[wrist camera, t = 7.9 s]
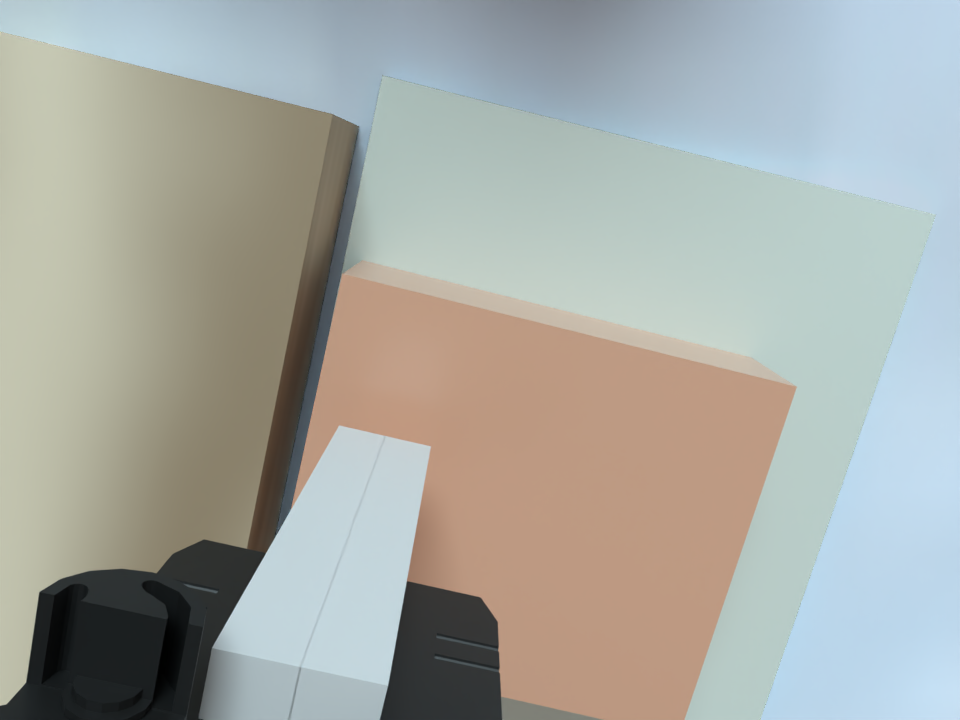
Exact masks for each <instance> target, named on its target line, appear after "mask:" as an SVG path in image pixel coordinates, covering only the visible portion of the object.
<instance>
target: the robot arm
mask: <svg viewBox="0 0 960 720" xmlns="http://www.w3.org/2000/svg"><path fill="white" fill-rule="evenodd" d="M430 449H431V446H427V445H423V444H418V443H414V442H409V441H405V440H401V439H396V438H392V437H388V436H383V435H379V434H375V433H370V432H366V431H362V430H357V429H353V428H349V427H344V426H340V425H339V427H338V428H337V430H336V432H335V434H334V435H333V437H332V439H331V441H330V442H329V444H328V446H327V448H326V449H325V451H324V453H323V455H322V456H321V458H320V460H319V462H318V463H317V465H316V467H315V469H314V470H313V472H312V474H311V476H310V477H309V479H308V481H307V483H306V484H305V486H304V488H303V490H302V491H301V493H300V495H299V497H298V498H297V500H296V502H295V504H294V505H293V507H292V509H291V511H290V512H289V514H288V516H287V518H286V519H285V521H284V523H283V525H282V526H281V528H280V530H279V532H278V533H277V535H276V537H275V539H274V540H273V542H272V544H271V546H270V547H269V549H268V551H267V553H264V552H259V551H255V550H250V549H246V548H241V547H237V546H232V545H228V544H223V543H219V542H214V541H210V540H205V539H204V540H201V541H199V542H197V543H195V544H193V545H191V546H188V547H186V548H184V549H182V550H180V551H177V552H175V553H173V554H172V555H171V556H170V558H169V559H168V560H167V561H166V562H165V564H164V565H163V566H162V567H161V569H160V570H159V571H158V572H157V573H153V572H146V571H138V570H129V569H109V570H94V571H87V572H83V573H80V574H76V575H73V576H69V577H65V578H62V579H60V580H58V581H56V582H55V583H53V584H51V585H50V586H48V587H47V588H45V589H43V590H42V591H40V592H39V597H38V604H37V611H36V618H35V625H34V632H33V639H32V646H31V652H30V659H29V666H28V673H27V680H26V683H25V684H24V686H23V687H22V688H21V689H20V690H19V691H18V692H17V693H16V694H15V696H14V697H13V698H12V699H11V700H10V701H9V702H8V703H7V704H6V705H1V706H0V720H502V705H501V683H500V673H499V669H500V661H499V651H498V648H499V638H498V621H497V620H496V619H495V617H494V616H493V614H492V613H491V611H490V610H489V608H488V607H487V606H486V604H485V603H484V601H483V600H482V598H481V597H477V596H473V595H468V594H463V593H459V592H454V591H450V590H445V589H441V588H436V587H432V586H427V585H423V584H418V583H414V582H409V581H407V577H408V571H409V566H410V560H411V555H412V549H413V544H414V538H415V532H416V527H417V521H418V516H419V510H420V504H421V499H422V493H423V488H424V482H425V477H426V471H427V465H428V460H429V454H430Z"/></svg>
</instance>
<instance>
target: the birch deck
mask: <svg viewBox="0 0 960 720" xmlns="http://www.w3.org/2000/svg"><path fill="white" fill-rule="evenodd" d="M358 128H359V126H357V125H354V124H352V123H350V122H348V121H346V120H344V119H342V118H339V117H337V116H335V115H333V114H329V113H325V112H321V111H317V110H313V109H309V108H305V107H301V106H297V105H293V104H289V103H285V102H281V101H277V100H273V99H269V98H265V97H261V96H257V95H253V94H249V93H245V92H241V91H237V90H233V89H229V88H225V87H221V86H217V85H213V84H209V83H205V82H201V81H197V80H193V79H189V78H185V77H181V76H177V75H173V74H169V73H165V72H161V71H157V70H152V69H148V68H144V67H140V66H136V65H132V64H128V63H124V62H120V61H116V60H112V59H108V58H104V57H100V56H96V55H92V54H88V53H84V52H80V51H76V50H72V49H68V48H64V47H60V46H56V45H52V44H48V43H44V42H40V41H36V40H32V39H28V38H24V37H20V36H16V35H12V34H8V33H4V32H0V706H1V705H6V704H7V703H8V702H9V701H10V700H11V699H12V698H13V697H14V696H15V694H16V693H17V692H18V691H19V690H20V689H21V688H22V687H23V686H24V684H25V683H26V680H27V673H28V666H29V659H30V652H31V646H32V639H33V632H34V625H35V618H36V611H37V604H38V597H39V592H40V591H42V590H43V589H45V588H47V587H48V586H50V585H51V584H53V583H55V582H56V581H58V580H60V579H62V578H65V577H69V576H73V575H76V574H80V573H83V572H87V571H94V570H109V569H129V570H138V571H146V572H153V573H157V572H158V571H159V570H160V569H161V567H162V566H163V565H164V564H165V562H166V561H167V560H168V559H169V558H170V556H171V555H172V554H173V553H175V552H177V551H180V550H182V549H184V548H186V547H188V546H191V545H193V544H195V543H197V542H199V541H201V540H204V539H205V540H210V541H214V542H219V543H223V544H228V545H232V546H237V547H241V548H246V549H250V550H255V551H259V552H264V553H267V551H268V549H269V547H270V546H271V544H272V542H273V540H274V538H275V533H276V528H277V524H278V519H279V514H280V509H281V504H282V499H283V494H284V489H285V484H286V480H287V475H288V470H289V465H290V460H291V455H292V450H293V445H294V440H295V436H296V431H297V426H298V421H299V416H300V411H301V406H302V401H303V396H304V392H305V387H306V382H307V377H308V372H309V367H310V362H311V357H312V352H313V348H314V343H315V338H316V333H317V328H318V323H319V318H320V313H321V309H322V304H323V299H324V294H325V289H326V284H327V279H328V274H329V269H330V265H331V260H332V255H333V250H334V245H335V240H336V235H337V230H338V225H339V221H340V216H341V211H342V206H343V201H344V196H345V191H346V186H347V181H348V177H349V172H350V167H351V162H352V157H353V152H354V147H355V142H356V137H357V133H358Z"/></svg>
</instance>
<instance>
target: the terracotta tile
mask: <svg viewBox="0 0 960 720" xmlns="http://www.w3.org/2000/svg"><path fill="white" fill-rule="evenodd" d="M796 388H797V386H795V385H794V384H792V383H790V382H789V381H787V380H786V379H784V378H783V377H781V376H779V375H778V374H776V373H775V372H773V371H772V370H770V369H769V368H767V367H765V366H764V365H762V364H761V363H759V362H758V361H756V360H754V359H753V358H751V357H748V356H744V355H740V354H736V353H732V352H728V351H724V350H720V349H716V348H712V347H708V346H704V345H700V344H696V343H692V342H688V341H684V340H680V339H676V338H672V337H668V336H664V335H660V334H656V333H652V332H648V331H644V330H640V329H636V328H632V327H628V326H624V325H620V324H616V323H612V322H608V321H604V320H600V319H596V318H592V317H588V316H584V315H580V314H576V313H572V312H568V311H564V310H560V309H556V308H552V307H548V306H544V305H540V304H536V303H532V302H528V301H524V300H520V299H516V298H512V297H508V296H504V295H500V294H496V293H492V292H488V291H484V290H480V289H476V288H472V287H468V286H464V285H460V284H456V283H452V282H448V281H444V280H440V279H436V278H432V277H428V276H424V275H420V274H416V273H412V272H408V271H404V270H400V269H396V268H392V267H388V266H384V265H380V264H376V263H372V262H368V261H364V260H362V261H360V262H359V263H357V264H356V265H354V266H353V267H351V268H350V269H348V270H347V271H345V272H344V273H342V277H341V282H340V286H339V291H338V296H337V300H336V305H335V309H334V314H333V319H332V323H331V328H330V332H329V337H328V342H327V346H326V351H325V355H324V360H323V364H322V369H321V374H320V378H319V383H318V387H317V392H316V397H315V401H314V406H313V410H312V415H311V420H310V424H309V429H308V433H307V438H306V443H305V447H304V452H303V456H302V461H301V466H300V470H299V475H298V479H297V484H296V489H295V493H294V498H293V502H292V507H293V505H294V504H295V502H296V500H297V498H298V497H299V495H300V493H301V491H302V490H303V488H304V486H305V484H306V483H307V481H308V479H309V477H310V476H311V474H312V472H313V470H314V469H315V467H316V465H317V463H318V462H319V460H320V458H321V456H322V455H323V453H324V451H325V449H326V448H327V446H328V444H329V442H330V441H331V439H332V437H333V435H334V434H335V432H336V430H337V428H338V427H339V425H340V426H344V427H349V428H353V429H357V430H362V431H366V432H370V433H375V434H379V435H383V436H388V437H392V438H396V439H401V440H405V441H409V442H414V443H418V444H423V445H427V446H431V449H430V454H429V460H428V465H427V471H426V477H425V482H424V488H423V493H422V499H421V504H420V510H419V516H418V521H417V527H416V532H415V538H414V544H413V549H412V555H411V560H410V566H409V571H408V577H407V581H409V582H414V583H418V584H423V585H427V586H432V587H436V588H441V589H445V590H450V591H454V592H459V593H463V594H468V595H473V596H477V597H481V598H482V600H483V601H484V603H485V604H486V606H487V607H488V608H489V610H490V611H491V613H492V614H493V616H494V617H495V619H496V620H497V621H498V638H499V648H498V651H499V661H500V669H499V673H500V683H501V697H505V698H509V699H514V700H518V701H523V702H527V703H532V704H536V705H540V706H545V707H549V708H554V709H558V710H563V711H567V712H572V713H576V714H581V715H585V716H590V717H594V718H598V719H603V720H685V717H686V714H687V711H688V708H689V705H690V702H691V699H692V696H693V693H694V690H695V687H696V684H697V681H698V678H699V675H700V672H701V669H702V666H703V663H704V660H705V657H706V655H707V652H708V649H709V646H710V643H711V640H712V637H713V634H714V631H715V628H716V625H717V622H718V619H719V616H720V613H721V610H722V607H723V604H724V601H725V598H726V595H727V592H728V589H729V586H730V583H731V581H732V578H733V575H734V572H735V569H736V566H737V563H738V560H739V557H740V554H741V551H742V548H743V545H744V542H745V539H746V536H747V533H748V530H749V527H750V524H751V521H752V518H753V515H754V512H755V510H756V507H757V504H758V501H759V498H760V495H761V492H762V489H763V486H764V483H765V480H766V477H767V474H768V471H769V468H770V465H771V462H772V459H773V456H774V453H775V450H776V447H777V444H778V441H779V438H780V436H781V433H782V430H783V427H784V424H785V421H786V418H787V415H788V412H789V409H790V406H791V403H792V400H793V397H794V394H795V391H796ZM292 507H291V509H292Z"/></svg>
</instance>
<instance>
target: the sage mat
mask: <svg viewBox="0 0 960 720" xmlns="http://www.w3.org/2000/svg"><path fill="white" fill-rule="evenodd" d="M935 216H936V215H935V214H931V213H927V212H923V211H919V210H915V209H911V208H907V207H903V206H899V205H895V204H891V203H887V202H883V201H879V200H875V199H871V198H867V197H863V196H859V195H855V194H851V193H847V192H843V191H839V190H835V189H832V188H828V187H824V186H820V185H816V184H812V183H808V182H804V181H800V180H796V179H792V178H788V177H784V176H780V175H776V174H772V173H768V172H764V171H760V170H756V169H752V168H748V167H744V166H740V165H736V164H732V163H728V162H724V161H720V160H716V159H712V158H708V157H704V156H700V155H696V154H693V153H689V152H685V151H681V150H677V149H673V148H669V147H665V146H661V145H657V144H653V143H649V142H645V141H641V140H637V139H633V138H629V137H625V136H621V135H617V134H613V133H609V132H605V131H601V130H597V129H593V128H589V127H585V126H581V125H577V124H573V123H569V122H565V121H561V120H558V119H554V118H550V117H546V116H542V115H538V114H534V113H530V112H526V111H522V110H518V109H514V108H510V107H506V106H502V105H498V104H494V103H490V102H486V101H482V100H478V99H474V98H470V97H466V96H462V95H458V94H454V93H450V92H446V91H442V90H438V89H434V88H430V87H426V86H423V85H419V84H415V83H411V82H407V81H403V80H399V79H395V78H391V77H387V76H383V75H382V80H381V85H380V89H379V94H378V99H377V104H376V109H375V113H374V118H373V123H372V128H371V133H370V138H369V142H368V147H367V152H366V157H365V162H364V166H363V171H362V176H361V181H360V186H359V190H358V195H357V200H356V205H355V210H354V215H353V219H352V224H351V229H350V234H349V239H348V243H347V248H346V253H345V258H344V263H343V268H342V272H341V277H342V273H344V272H345V271H347V270H348V269H350V268H351V267H353V266H354V265H356V264H357V263H359V262H360V261H362V260H364V261H368V262H372V263H376V264H380V265H384V266H388V267H392V268H396V269H400V270H404V271H408V272H412V273H416V274H420V275H424V276H428V277H432V278H436V279H440V280H444V281H448V282H452V283H456V284H460V285H464V286H468V287H472V288H476V289H480V290H484V291H488V292H492V293H496V294H500V295H504V296H508V297H512V298H516V299H520V300H524V301H528V302H532V303H536V304H540V305H544V306H548V307H552V308H556V309H560V310H564V311H568V312H572V313H576V314H580V315H584V316H588V317H592V318H596V319H600V320H604V321H608V322H612V323H616V324H620V325H624V326H628V327H632V328H636V329H640V330H644V331H648V332H652V333H656V334H660V335H664V336H668V337H672V338H676V339H680V340H684V341H688V342H692V343H696V344H700V345H704V346H708V347H712V348H716V349H720V350H724V351H728V352H732V353H736V354H740V355H744V356H748V357H751V358H753V359H754V360H756V361H758V362H759V363H761V364H762V365H764V366H765V367H767V368H769V369H770V370H772V371H773V372H775V373H776V374H778V375H779V376H781V377H783V378H784V379H786V380H787V381H789V382H790V383H792V384H794V385H795V386H797V388H796V391H795V394H794V397H793V400H792V403H791V406H790V409H789V412H788V415H787V418H786V421H785V424H784V427H783V430H782V433H781V436H780V438H779V441H778V444H777V447H776V450H775V453H774V456H773V459H772V462H771V465H770V468H769V471H768V474H767V477H766V480H765V483H764V486H763V489H762V492H761V495H760V498H759V501H758V504H757V507H756V510H755V512H754V515H753V518H752V521H751V524H750V527H749V530H748V533H747V536H746V539H745V542H744V545H743V548H742V551H741V554H740V557H739V560H738V563H737V566H736V569H735V572H734V575H733V578H732V581H731V583H730V586H729V589H728V592H727V595H726V598H725V601H724V604H723V607H722V610H721V613H720V616H719V619H718V622H717V625H716V628H715V631H714V634H713V637H712V640H711V643H710V646H709V649H708V652H707V655H706V657H705V660H704V663H703V666H702V669H701V672H700V675H699V678H698V681H697V684H696V687H695V690H694V693H693V696H692V699H691V702H690V705H689V708H688V711H687V714H686V717H685V720H760V719H761V716H762V714H763V711H764V708H765V705H766V702H767V699H768V696H769V693H770V691H771V688H772V685H773V682H774V679H775V676H776V673H777V670H778V668H779V665H780V662H781V659H782V656H783V653H784V650H785V647H786V645H787V642H788V639H789V636H790V633H791V630H792V627H793V624H794V621H795V619H796V616H797V613H798V610H799V607H800V604H801V601H802V598H803V596H804V593H805V590H806V587H807V584H808V581H809V578H810V575H811V573H812V570H813V567H814V564H815V561H816V558H817V555H818V552H819V550H820V547H821V544H822V541H823V538H824V535H825V532H826V529H827V527H828V524H829V521H830V518H831V515H832V512H833V509H834V506H835V504H836V501H837V498H838V495H839V492H840V489H841V486H842V483H843V481H844V478H845V475H846V472H847V469H848V466H849V463H850V460H851V458H852V455H853V452H854V449H855V446H856V443H857V440H858V437H859V435H860V432H861V429H862V426H863V423H864V420H865V417H866V414H867V412H868V409H869V406H870V403H871V400H872V397H873V394H874V391H875V389H876V386H877V383H878V380H879V377H880V374H881V371H882V368H883V366H884V363H885V360H886V357H887V354H888V351H889V348H890V345H891V343H892V340H893V337H894V334H895V331H896V328H897V325H898V322H899V320H900V317H901V314H902V311H903V308H904V305H905V302H906V299H907V297H908V294H909V291H910V288H911V285H912V282H913V279H914V276H915V274H916V271H917V268H918V265H919V262H920V259H921V256H922V253H923V251H924V248H925V245H926V242H927V239H928V236H929V233H930V230H931V228H932V225H933V222H934V219H935ZM341 277H340V282H341ZM340 282H339V286H340ZM338 291H339V287H338ZM337 296H338V292H337ZM337 296H336V300H337ZM335 305H336V301H335ZM334 309H335V306H334ZM333 314H334V311H333ZM332 319H333V316H332ZM331 323H332V320H331ZM330 328H331V325H330ZM329 332H330V330H329ZM328 337H329V335H328ZM327 342H328V340H327ZM326 346H327V345H326ZM325 351H326V349H325ZM324 355H325V354H324ZM323 360H324V359H323ZM320 374H321V373H320ZM501 705H502V720H603V719H598V718H594V717H590V716H585V715H581V714H576V713H572V712H567V711H563V710H558V709H554V708H549V707H545V706H540V705H536V704H532V703H527V702H523V701H518V700H514V699H509V698H505V697H501Z"/></svg>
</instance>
